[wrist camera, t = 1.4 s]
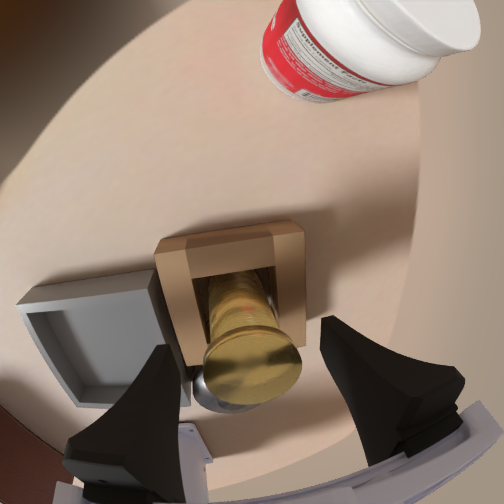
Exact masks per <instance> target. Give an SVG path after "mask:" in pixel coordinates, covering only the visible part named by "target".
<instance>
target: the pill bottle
mask: <svg viewBox="0 0 504 504" xmlns="http://www.w3.org/2000/svg"><path fill="white" fill-rule="evenodd" d="M480 30H481V27H480V19H479V15H478V12H477V8H476V6H475V3H474V1H473V0H283V1H282V3H281V5H280V6H279V8H278V10H277V11H276V13H275V15H274V16H273V18H272V20H271V22H270V23H269V25H268V27H267V29H266V30H265V32H264V35H263V37H262V39H261V43H260V60H261V64H262V66H263V69H264V71H265V73H266V75H267V76H268V78H269V79H270V80H271V82H272V83H273V84H274V85H275V86H276V87H277V88H278V89H280V90H281V91H282V92H283V93H285V94H287V95H288V96H290V97H292V98H295V99H297V100H300V101H303V102H307V103H328V102H333V101H337V100H341V99H344V98H347V97H351V96H355V95H358V94H362V93H366V92H370V91H375V90H379V89H383V88H389V87H393V86H398V85H404V84H408V83H412V82H415V81H418V80H420V79H422V78H424V77H425V76H427V75H428V74H430V73H431V72H432V71H433V70H434V69H435V67H436V66H437V64H438V63H439V61H440V58H441V57H444V56H448V55H451V54H455V53H459V52H464V51H469V50H471V49H473V48H474V47H475V46H476V45H477V43H478V42H479V39H480V32H481V31H480Z"/></svg>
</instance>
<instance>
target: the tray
mask: <svg viewBox="0 0 504 504" xmlns="http://www.w3.org/2000/svg"><path fill="white" fill-rule="evenodd" d="M16 307H17V309H18V311H19V313H20V315H21V317H22V319H23V321H24V323H25V325H26V327H27V329H28V331H29V333H30V335H31V337H32V339H33V341H34V342H35V344H36V346H37V348H38V350H39V351H40V353H41V355H42V356H43V358H44V360H45V361H46V363H47V365H48V366H49V368H50V369H51V371H52V373H53V374H54V376H55V377H56V379H57V380H58V382H59V383H60V385H61V386H62V387H63V389H64V390H65V392H66V393H67V395H68V396H69V397H70V399H71V400H72V401H73V403H74V404H75V405H76V407H81V408H99V409H110V408H111V407H112V406H113V405H114V404H115V403H116V402H117V401H118V400H119V399H120V398H121V396H122V395H123V394H124V393H125V392H126V390H127V389H128V388H129V386H130V385H131V384H132V382H133V381H134V380H135V378H136V377H137V375H138V374H139V372H140V371H141V369H142V368H143V366H144V365H145V363H146V361H147V360H148V358H149V356H150V355H151V353H152V352H153V350H154V348H155V347H156V345H160V344H170V347H171V350H172V353H173V355H174V358H175V361H176V363H177V366H178V369H179V371H180V376H181V400H180V407H187V406H191V381H190V379H189V376H188V373H187V371H186V368H185V365H184V362H183V360H182V357H181V354H180V351H179V348H178V345H177V342H176V339H175V336H174V333H173V330H172V327H171V324H170V321H169V318H168V314H167V311H166V308H165V304H164V301H163V297H162V294H161V290H160V287H159V283H158V280H157V276H156V272H155V269H149V270H143V271H136V272H130V273H123V274H117V275H110V276H104V277H97V278H91V279H84V280H78V281H71V282H65V283H58V284H51V285H45V286H38V287H32V288H31V289H30V290H29V291H28V292H27V293H26V294H25V296H24V297H23V298H22V299H21V300H20V301H19V302H18V303H17V304H16Z"/></svg>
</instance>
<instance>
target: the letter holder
mask: <svg viewBox="0 0 504 504" xmlns="http://www.w3.org/2000/svg"><path fill="white" fill-rule="evenodd" d="M63 457H64V455H63V454H62V453H60V452H59V451H57V450H56V449H54V448H53V447H51V446H50V445H49V444H47V443H46V442H44V441H43V440H42V439H40V438H39V437H38V436H36V435H35V434H34V433H32V432H31V431H30V430H29V429H27V428H26V427H25V426H24V425H23V424H21V423H20V422H19V421H18V420H17V419H15V418H14V417H13V416H12V415H11V414H10V413H9V412H8V411H6V410H5V409H4V408H3V407H2V406H1V405H0V502H1V503H2V504H53V499H54V493H55V488H56V483H57V482H58V481H59V482H63V483H67V484H71V485H72V484H73V479H74V475H73V474H71V473H70V472H69V471H68V470H67V469H66V468H65V467H64V465H63V464H62V461H63Z"/></svg>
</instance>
